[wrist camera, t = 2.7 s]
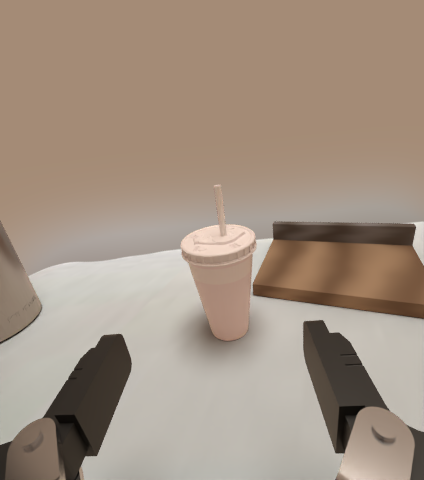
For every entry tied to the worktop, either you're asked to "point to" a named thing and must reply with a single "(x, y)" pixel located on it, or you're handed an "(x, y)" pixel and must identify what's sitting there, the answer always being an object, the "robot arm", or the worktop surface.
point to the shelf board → (345, 266)
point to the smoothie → (222, 272)
